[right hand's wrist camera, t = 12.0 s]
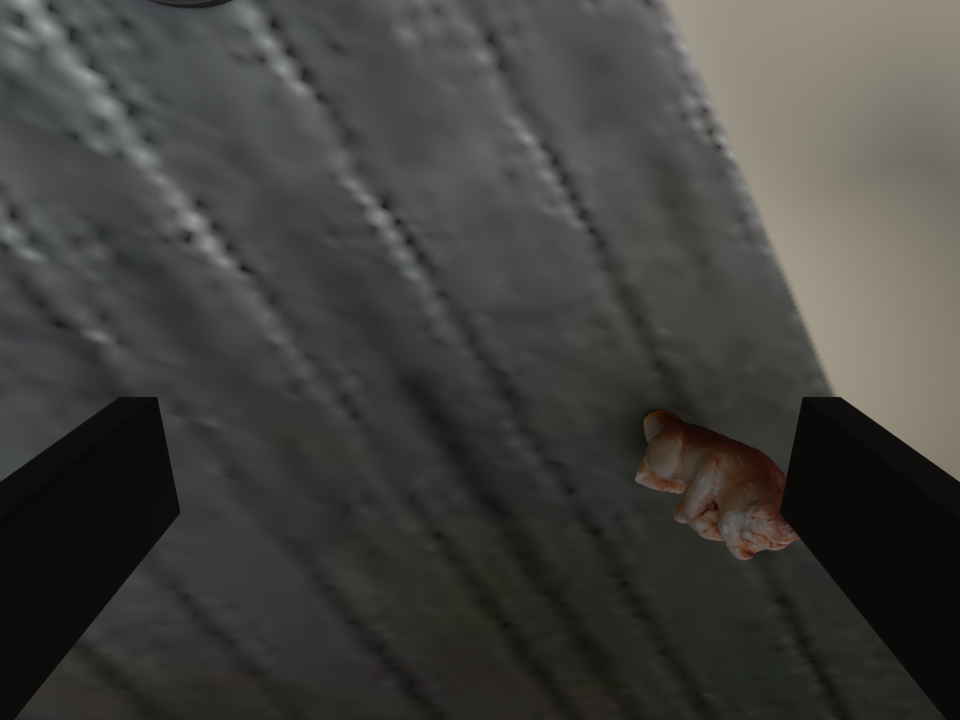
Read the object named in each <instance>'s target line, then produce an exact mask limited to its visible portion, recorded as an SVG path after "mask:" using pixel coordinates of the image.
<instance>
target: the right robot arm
mask: <svg viewBox="0 0 960 720" xmlns="http://www.w3.org/2000/svg"><path fill="white" fill-rule="evenodd" d="M150 1H153V2H156V3H159V4H162V5H167V6H172V7H180V8H204V7H211V6H216V5H220V4H223V3H226V2H229V1H231V0H150ZM179 514H180V508H179V503H178V498H177V493H176V488H175V483H174V478H173V473H172V468H171V463H170V458H169V453H168V449H167V444H166V439H165V434H164V429H163V424H162V419H161V414H160V409H159V404H158V399H157V397H119V398H118V399H116V400H115V401H113V402H112V403H111V404H109V405H108V406H106V407H105V408H104V409H102V410H101V411H99V412H98V413H96V414H95V415H94V416H92V417H91V418H89V419H88V420H87V421H85V422H84V423H82V424H81V425H80V426H78V427H77V428H75V429H74V430H73V431H71V432H70V433H68V434H67V435H66V436H64V437H63V438H61V439H60V440H59V441H57V442H56V443H54V444H53V445H52V446H50V447H49V448H47V449H46V450H45V451H43V452H42V453H40V454H39V455H38V456H36V457H35V458H33V459H32V460H30V461H29V462H28V463H26V464H25V465H23V466H22V467H21V468H19V469H18V470H16V471H15V472H14V473H12V474H11V475H9V476H8V477H7V478H5V479H4V480H2V481H1V482H0V720H14V719H15V718H16V716H17V715H18V714H19V713H20V711H21V710H22V709H23V708H24V706H25V705H26V704H27V703H28V701H29V700H30V699H31V698H32V696H33V695H34V694H35V693H36V691H37V690H38V689H39V688H40V686H41V685H42V684H43V683H44V682H45V680H46V679H47V678H48V677H49V675H50V674H51V673H52V672H53V670H54V669H55V668H56V667H57V665H58V664H59V663H60V662H61V660H62V659H63V658H64V657H65V655H66V654H67V653H68V652H69V650H70V649H71V648H72V647H73V645H74V644H75V643H76V642H77V641H78V639H79V638H80V637H81V636H82V634H83V633H84V632H85V631H86V629H87V628H88V627H89V626H90V624H91V623H92V622H93V621H94V619H95V618H96V617H97V616H98V614H99V613H100V612H101V611H102V609H103V608H104V607H105V606H106V604H107V603H108V602H109V601H110V600H111V598H112V597H113V596H114V595H115V593H116V592H117V591H118V590H119V588H120V587H121V586H122V585H123V583H124V582H125V581H126V580H127V578H128V577H129V576H130V575H131V573H132V572H133V571H134V570H135V568H136V567H137V566H138V565H139V563H140V562H141V561H142V560H143V559H144V557H145V556H146V555H147V554H148V552H149V551H150V550H151V549H152V547H153V546H154V545H155V544H156V542H157V541H158V540H159V539H160V537H161V536H162V535H163V534H164V532H165V531H166V530H167V529H168V527H169V526H170V525H171V524H172V522H173V521H174V520H175V519H176V518H177V516H178V515H179ZM780 514H781V515H782V516H783V518H784V519H785V520H786V521H787V522H788V524H789V525H790V526H791V527H792V529H793V530H794V531H795V532H796V534H797V535H798V536H799V537H800V539H801V540H802V541H803V542H804V544H805V545H806V546H807V547H808V549H809V550H810V551H811V552H812V554H813V555H814V556H815V557H816V559H817V560H818V561H819V562H820V563H821V565H822V566H823V567H824V568H825V570H826V571H827V572H828V573H829V575H830V576H831V577H832V578H833V580H834V581H835V582H836V583H837V585H838V586H839V587H840V588H841V590H842V591H843V592H844V593H845V595H846V596H847V597H848V598H849V600H850V601H851V602H852V603H853V604H854V606H855V607H856V608H857V609H858V611H859V612H860V613H861V614H862V616H863V617H864V618H865V619H866V621H867V622H868V623H869V624H870V626H871V627H872V628H873V629H874V631H875V632H876V633H877V634H878V636H879V637H880V638H881V639H882V641H883V642H884V643H885V644H886V645H887V647H888V648H889V649H890V650H891V652H892V653H893V654H894V655H895V657H896V658H897V659H898V660H899V662H900V663H901V664H902V665H903V667H904V668H905V669H906V670H907V672H908V673H909V674H910V675H911V677H912V678H913V679H914V680H915V682H916V683H917V684H918V685H919V686H920V688H921V689H922V690H923V691H924V693H925V694H926V695H927V696H928V698H929V699H930V700H931V701H932V703H933V704H934V705H935V706H936V708H937V709H938V710H939V711H940V713H941V714H942V715H943V716H944V718H945V719H946V720H960V482H959V481H958V480H956V479H955V478H953V477H952V476H951V475H949V474H948V473H946V472H945V471H944V470H942V469H941V468H939V467H938V466H937V465H935V464H934V463H932V462H931V461H929V460H928V459H927V458H925V457H924V456H922V455H921V454H920V453H918V452H917V451H915V450H914V449H913V448H911V447H910V446H908V445H907V444H906V443H904V442H903V441H901V440H900V439H899V438H897V437H896V436H894V435H893V434H892V433H890V432H889V431H887V430H886V429H885V428H883V427H882V426H880V425H879V424H878V423H876V422H875V421H873V420H872V419H871V418H869V417H868V416H866V415H865V414H864V413H862V412H861V411H859V410H858V409H856V408H855V407H854V406H852V405H851V404H849V403H848V402H847V401H845V400H844V399H842V398H841V397H803V399H802V404H801V409H800V414H799V419H798V424H797V429H796V434H795V439H794V444H793V448H792V453H791V458H790V463H789V468H788V473H787V478H786V483H785V488H784V493H783V498H782V503H781V508H780Z"/></svg>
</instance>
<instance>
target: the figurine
mask: <svg viewBox="0 0 960 720" xmlns="http://www.w3.org/2000/svg"><path fill="white" fill-rule="evenodd" d="M644 434H645V436H646V440H647V442H648V443H649V444H648V447H647V450H646V453H645V456H644V459H643V461H642V464H641V466H640V468H639V470H638V472H637V476H636V479H635V480H636V483H639V484H642V485H644V486H645V487H647V488H652V489H655V490H658V491H667V492H674V493H676V494H679V493H682V492H684V491H685V489H686V487H687V486H688V489H687V490H686V491H685V493H684V500H683V501H682V502H681V504H680V505H678V506H677V507H676V508H675V511H674V519H675V520H676V521H678V522H681V523H688V524H689V525H690V526H691V527H692V528H693V529H694V530H695V531H696V532H697V533H698V534H699V535H700V536H701V537H703V538H705V539H710V540H718V541H723V540H724V541H725V543H726V545H727V547H728V548H729V550H730V551H731V553H732V554H733V555H734V556H735V557H737V558H738V559H741V560H747V559H750V558H752V557H753V556H754V555H755V553H756V552H758V551H761V550H764V549H770V550H779V549H783V548H785V547H786V546H787V545H788V544H789V543H791V542H793V541H795V540H797V539H800V537H799V536H798V535H797V534H796V532H795V531H794V530H793V529H792V527H791V526H790V525H789V524H788V522H787V521H786V520H785V519H784V518H783V516H782V515H781V514H780V508H781V503H782V498H783V493H784V488H785V483H786V476H785V474H784V473H783V472H782V471H781V470H780V469H779V468H778V466H777V465H776V464H775V463H774V462H773V461H772V460H771V459H770V458H769V457H768V456H767V455H765V454H764V453H763V452H761V451H760V450H758V449H755V448H752V447H750V446H749V445H745V444H743V443H741V442H739V441H735V440H733V439H730V438H728V437H726V436H724V435H721V434H718V433H716V432H714V431H711V430H709V429H707V428H704V427H701V426H697V425H695V424H689V423H686V422H684V421H683V420H682V419H681V418H680V417H678V416H676V415H675V414H674V413H670V412H668V411H664V410H658V411H654V412H651V413H649V414H648V415H647V416H646V417H645V418H644Z"/></svg>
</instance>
